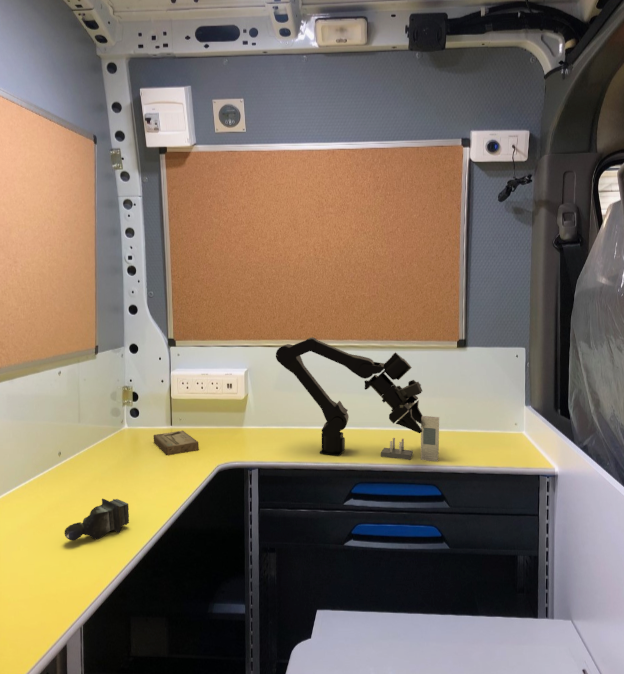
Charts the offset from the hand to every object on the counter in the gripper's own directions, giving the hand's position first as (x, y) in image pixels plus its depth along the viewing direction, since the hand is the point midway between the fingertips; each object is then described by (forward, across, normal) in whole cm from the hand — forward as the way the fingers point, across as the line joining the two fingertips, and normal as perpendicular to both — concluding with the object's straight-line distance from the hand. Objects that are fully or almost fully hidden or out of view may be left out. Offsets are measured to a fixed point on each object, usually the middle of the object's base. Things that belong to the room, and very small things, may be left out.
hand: (423, 428), depth 163 cm
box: (-49, -14, +63) cm, 81 cm away
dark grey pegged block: (+1, 0, +12) cm, 12 cm away
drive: (+8, 0, +5) cm, 10 cm away
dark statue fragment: (-34, -74, +47) cm, 94 cm away
